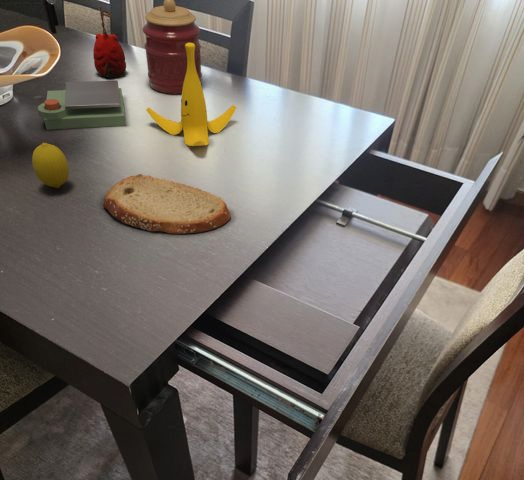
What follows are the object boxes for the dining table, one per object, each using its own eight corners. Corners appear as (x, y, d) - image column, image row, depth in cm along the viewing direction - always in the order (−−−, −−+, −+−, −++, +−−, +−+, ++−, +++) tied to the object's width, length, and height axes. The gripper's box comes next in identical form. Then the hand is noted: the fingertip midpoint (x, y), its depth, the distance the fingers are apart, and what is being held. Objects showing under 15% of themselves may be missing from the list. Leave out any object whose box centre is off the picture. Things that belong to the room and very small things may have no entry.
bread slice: (238, 222, 81) (238, 202, 78) (136, 253, 74) (133, 233, 71) (190, 174, 91) (188, 154, 88) (96, 197, 84) (91, 177, 81)
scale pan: (65, 109, 99) (64, 106, 98) (67, 84, 107) (66, 82, 107) (120, 106, 101) (120, 103, 101) (118, 83, 109) (117, 80, 109)
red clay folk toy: (128, 69, 124) (117, -1, 113) (126, 80, 120) (116, 7, 109) (97, 69, 123) (84, -2, 112) (94, 80, 119) (80, 7, 108)
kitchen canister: (184, 99, 114) (178, 10, 101) (138, 87, 117) (126, -1, 104) (211, 81, 122) (209, -4, 109) (167, 71, 125) (160, -13, 112)
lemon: (61, 199, 83) (48, 153, 77) (33, 191, 84) (18, 146, 78) (79, 183, 87) (68, 139, 81) (53, 177, 88) (40, 132, 82)
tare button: (45, 111, 99) (43, 104, 98) (46, 106, 100) (44, 99, 99) (60, 111, 99) (58, 104, 98) (60, 105, 101) (58, 98, 100)
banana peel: (199, 159, 95) (194, 64, 82) (146, 124, 104) (134, 34, 91) (262, 137, 102) (267, 47, 90) (208, 106, 112) (205, 21, 99)
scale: (42, 130, 100) (36, 113, 97) (46, 100, 110) (41, 84, 107) (126, 126, 103) (123, 109, 100) (122, 97, 113) (120, 81, 110)
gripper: (42, -113, 71) (71, 22, 84) (-91, -113, 66) (-38, 32, 79) (52, -107, 67) (81, 35, 80) (-90, -106, 62) (-34, 47, 74)
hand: (22, 34), depth 79 cm, fingers open, 9 cm apart
